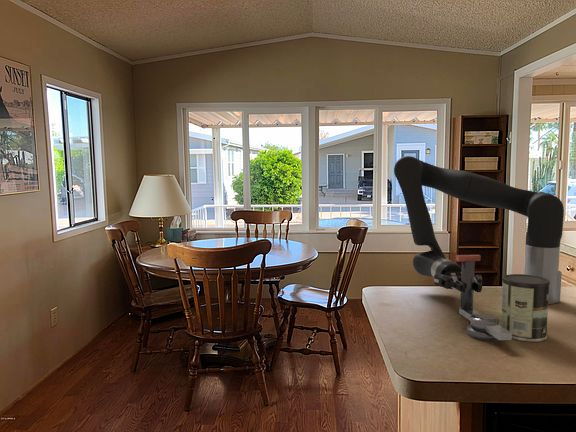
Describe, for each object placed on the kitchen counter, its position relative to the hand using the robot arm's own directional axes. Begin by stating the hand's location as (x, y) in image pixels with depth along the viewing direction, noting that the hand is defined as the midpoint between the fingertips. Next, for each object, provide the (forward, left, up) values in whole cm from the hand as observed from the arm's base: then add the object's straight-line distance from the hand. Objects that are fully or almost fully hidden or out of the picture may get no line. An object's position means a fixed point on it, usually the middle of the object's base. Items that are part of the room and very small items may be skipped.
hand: (471, 288), depth 115 cm
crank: (-1, +5, -8) cm, 10 cm away
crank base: (-1, +6, -10) cm, 12 cm away
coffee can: (-11, +6, -10) cm, 16 cm away
